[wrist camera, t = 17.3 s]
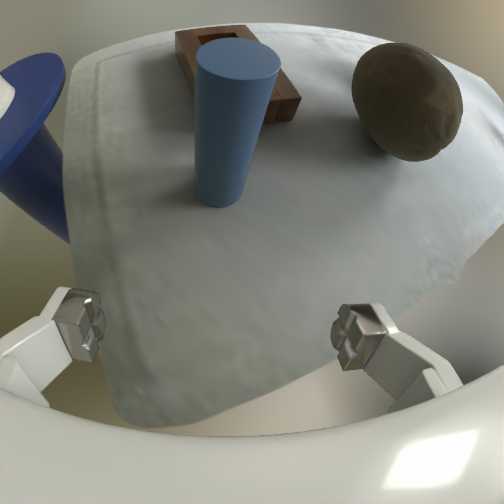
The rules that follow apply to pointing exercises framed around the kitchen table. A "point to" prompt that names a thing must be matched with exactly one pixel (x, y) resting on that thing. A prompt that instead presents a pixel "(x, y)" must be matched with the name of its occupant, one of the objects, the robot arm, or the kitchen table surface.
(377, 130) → the cantaloupe
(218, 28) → the peg block
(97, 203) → the kitchen table surface
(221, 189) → the peg
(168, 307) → the kitchen table surface
